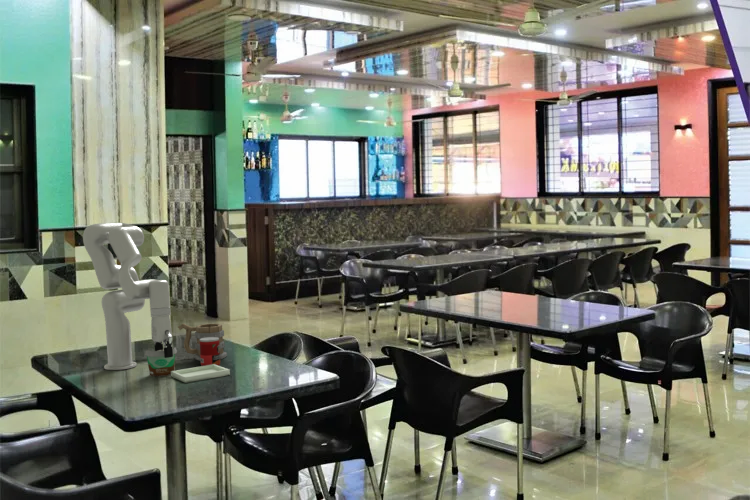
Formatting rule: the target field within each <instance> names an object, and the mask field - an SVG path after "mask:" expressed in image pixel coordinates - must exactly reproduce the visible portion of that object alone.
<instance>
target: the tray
mask: <svg viewBox="0 0 750 500" xmlns="http://www.w3.org/2000/svg"><path fill="white" fill-rule="evenodd" d="M230 371H231V369H230V368H227V367H223V366H221V365H219V366H218V365H215V364H212V365H206V366H196V367H189V368H182V369H178V370H174V371H171V375H170V377H172V378H173V379H175V380H178V381H181V382H183V383H193V382H197V381H203V380H208V379H214V378H221V377H224V376H230V375H231V372H230Z"/></svg>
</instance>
